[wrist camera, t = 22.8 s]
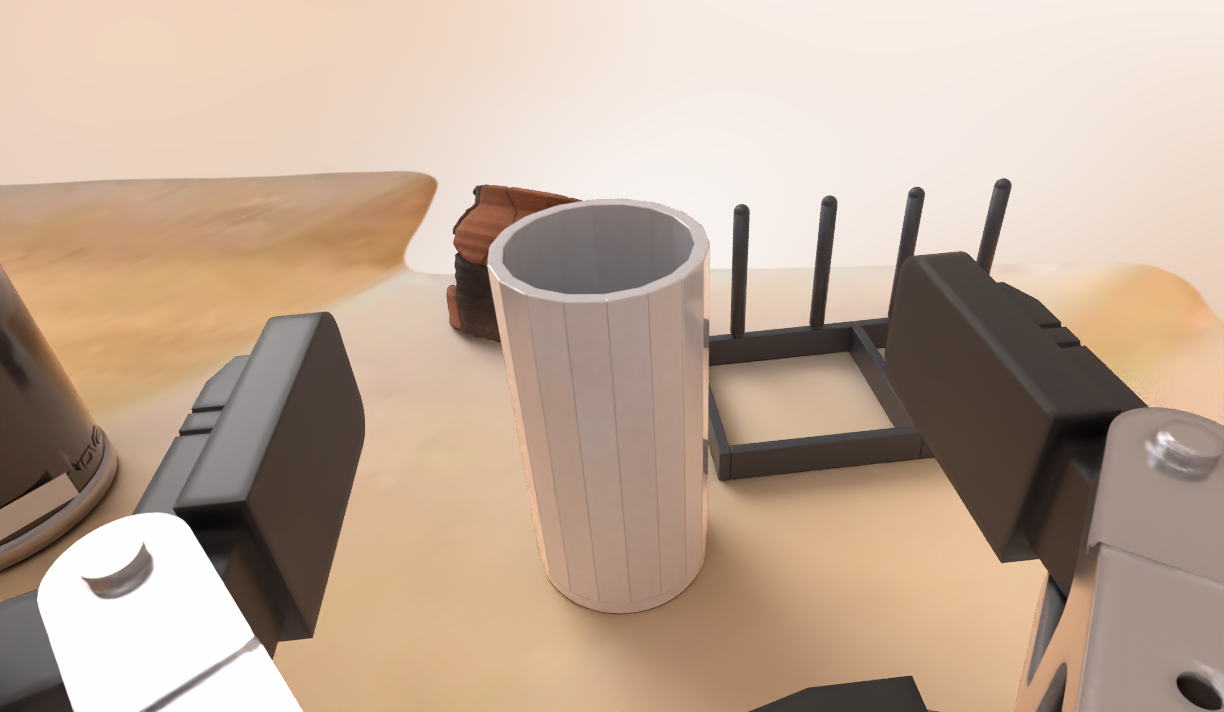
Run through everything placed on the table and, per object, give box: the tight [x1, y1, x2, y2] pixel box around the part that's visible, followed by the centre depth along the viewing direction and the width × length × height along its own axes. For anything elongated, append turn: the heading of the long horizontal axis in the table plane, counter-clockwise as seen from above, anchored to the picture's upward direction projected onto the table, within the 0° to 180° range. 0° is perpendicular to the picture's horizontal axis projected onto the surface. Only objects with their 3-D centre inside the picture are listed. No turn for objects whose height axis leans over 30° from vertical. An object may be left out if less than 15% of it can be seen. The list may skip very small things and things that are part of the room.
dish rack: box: [708, 178, 1011, 480], centre depth 34 cm, size 17×9×8 cm, turn 95°
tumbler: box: [487, 199, 710, 613], centre depth 26 cm, size 6×6×13 cm
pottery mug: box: [447, 185, 582, 342], centre depth 43 cm, size 12×10×8 cm
